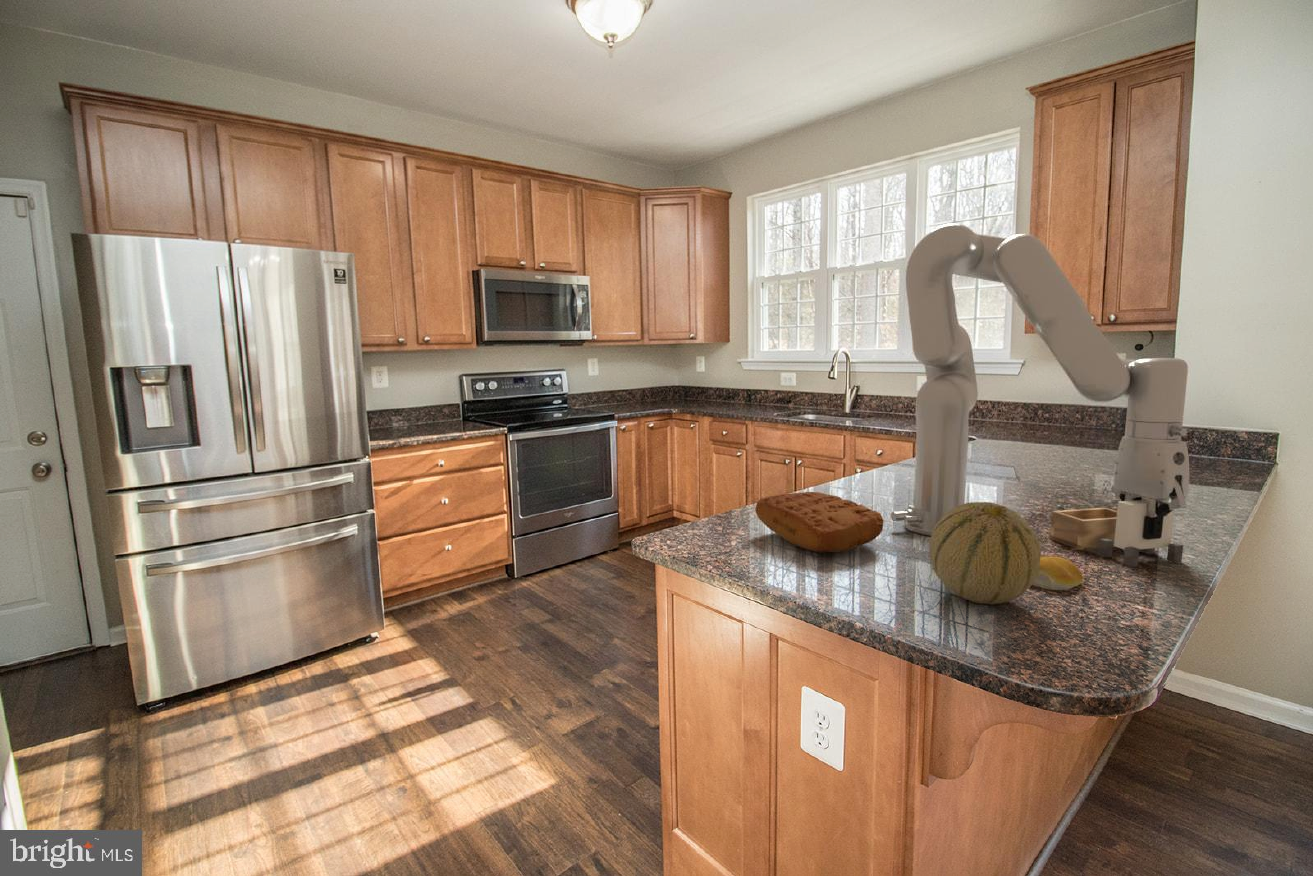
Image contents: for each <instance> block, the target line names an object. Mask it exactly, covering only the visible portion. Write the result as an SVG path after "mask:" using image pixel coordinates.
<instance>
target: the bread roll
mask: <svg viewBox="0 0 1313 876" xmlns="http://www.w3.org/2000/svg"><path fill="white" fill-rule="evenodd" d="M1083 580H1084V576H1083V573H1082V571H1081V570H1080V568H1079V567H1078V565H1076V564H1075V563H1073V562H1072V561H1070V560H1068V559H1066V558H1062V557H1060V556H1054V555H1051V556H1050V555H1049V556H1041V557H1040V564H1039V568H1038V572H1037V575H1036V578H1035V580H1034V582H1033V584H1032V585H1031V586H1034V587H1036V588H1041V589H1044V590H1051V591H1069V590H1071V589H1072V588H1076V587H1078V586H1079V585H1081V584H1082V583H1083V582H1084V581H1083Z"/></svg>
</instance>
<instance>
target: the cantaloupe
mask: <svg viewBox="0 0 1313 876" xmlns="http://www.w3.org/2000/svg"><path fill="white" fill-rule="evenodd" d="M928 546H929V551H928V553H929V560H930V564H931V567H932V571H933V572H934V574H935V576H937V578H938V579H939V581H940V582H941V583H942V584H943V585H944V587H946V588H947V590H949V592H952V594H954V595H957V596H958V597H960V598H962V599H965V600H967V601H971V602H973V603H978V604H988V605H997V604H1003V603H1008V602H1010V601H1012V600H1015V599H1017V598H1019V597H1021V596H1022V595H1023V594H1024V593H1025V592H1027V591H1028V590H1029V589H1030V588H1031V587H1032V586H1033V585H1032V584H1033V582H1034V580H1035V578H1036V575H1037V572H1038V568H1039V564H1040V557H1042V556H1041V554H1042V550H1041V546H1040V541H1039V538H1038V537H1037V534H1036V533H1035V530H1034V529H1033V528H1032V526H1031V525H1030V524H1029V522H1028V521H1026V519H1024V518H1023V517H1022V516H1021V515H1020V514H1019V513H1018V512H1016V511H1014V510H1012V509H1010V508H1009V507H1007V506H1004V505H1001V504H998V503H996V502H990V501H989V502H987V501H984V502H983V501H982V502H980V501H979V502H978V501H976V502H973V501H972V502H965V504H962V505H960V506H957V507H955V508H953V509H952V510H951V511H949V512H948V513H946V514H945V515H944V516H943V517H942V518H941V519H940V520H939V521H938V523H937V525H936V526H935V528H934V530H933V533H932V536H930V540H929V545H928Z"/></svg>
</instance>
